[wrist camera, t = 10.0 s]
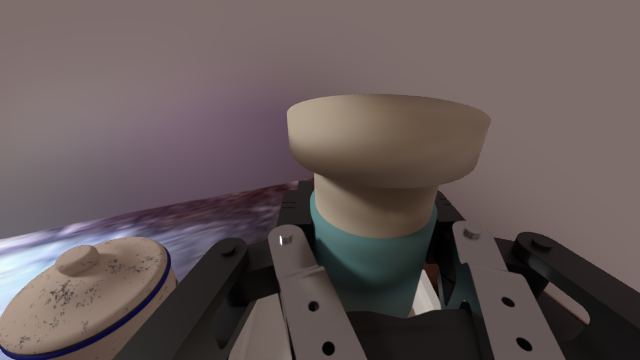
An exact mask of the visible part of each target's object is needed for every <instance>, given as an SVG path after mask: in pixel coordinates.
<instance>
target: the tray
mask: <svg viewBox="0 0 640 360" xmlns="http://www.w3.org/2000/svg"><path fill="white" fill-rule="evenodd" d="M412 307H413V309H414V312H415V315H419V314H422V313H425V312H428V311H431V310H441V305H440V301H439V299H438V297H437V295H436V293H435V291H434V289H433V287H432V285H431V283H430V281H429V279H428V277H427V275H426V273H425V270H422V273H421V277H420V280H419V284H418V287H417V291H416V295H415V298H414V302H413V305H412ZM228 360H292V359H291V355H290V350H289V345H288V340H287V335H286V330H285V325H284V321H283V316H282V312H281V307H280V303H279V298H278V294H277V293H276V294H273V295H270V296H267V297H264V298H261V299H258V300H257V302H256V304H255V306H254V308H253V309H252V311H251V313H250V315H249V317H248V319H247V321H246V323H245V325H244V327H243V329H242V331H241V333H240V335H239V337H238V339H237V340H236V342H235V344H234V346H233V348H232V350H231V352H230V356H229V359H228Z"/></svg>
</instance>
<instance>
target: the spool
mask: <svg viewBox="0 0 640 360" xmlns="http://www.w3.org/2000/svg"><path fill="white" fill-rule="evenodd" d="M287 120H288V132H289V142H290V143H289V144H290V152H291V155H292V157H293V158H294V160H296V161H297V162H298V163H299V164H300V165H301V166H303V167H304V168H306V169H308V170H310V171H312V172H314V180H315V189H314V191H313V192H312V195H311V198H310V209H311V216H312V237H313V255H314V258H315V260H316V262H317V264H318V266H321V265H322V266H323V267H324V268H325V270H326V272H327V274H328V276H329V278H330V281H331V283H332V285H333V287H334V289H335V291H336V293H337V296H338V298H339V300H340V302H341V304H342V306H343V308H344V311H345V312H350V311H372V312H376V313H381V314H385V315H390V316H394V317H398V318H409V317H412V316H415V312H414V309H413V307H412V305H413V302H414V298H415V295H416V291H417V287H418V284H419V280H420V277H421V273H422V269H423V266H424V262H425V259H426V255H427V251H428V248H429V244H430V241H431V237H432V234H433V230H434V226H435V223H436V219H437V208H436V205H435V203H434V202H435V198H436V194H437V190H438V187H439V185H441V184H445V183H450V182H452V181H455V180H458V179H460V178H462V177H464V176H466V175H468V174H469V173H470V172H471V171H473V169H474V168H475V166H476V164H477V161H478V158H479V155H480V152H481V149H482V146H483V143H484V140H485V137H486V134H487V131H488V128H489V125H490V120H491V119H490V117H489V116H488V115H487V114H485V113H484V112H482V111H481V110H479V109H476V108H474V107H470V106H468V105H464V104H460V103H456V102H451V101H446V100H441V99H435V98H427V97H419V96H407V95H391V94H354V95H339V96H329V97H323V98H317V99H312V100H307V101H304V102H301V103H298V104H296V105H294V106H292V107H291V108H289V110H288V111H287Z"/></svg>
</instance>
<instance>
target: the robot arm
mask: <svg viewBox="0 0 640 360" xmlns="http://www.w3.org/2000/svg"><path fill="white" fill-rule="evenodd" d="M312 192H313V180H299V184H298V190H289V191H288V192H287V193H286V194H285V195H284V196H283V201H282V205H281V209H280V214H279V218H278V222H277V227H276V228H275V229H273V230H272V231H271V232H270V234H269V236H268V239H266V240H264V241H261V242H258V243H255V244H251V245H247V244H246V242H245V241H244V240H242V239H240V238H227V239H224V240H221V241H219V242H217V243H216V244H214V245H213V246H212V247H211V248H210V249H209V250H208V252H207V253H206V254H205V255H204V256H203V257H202V258H201V259H200V261H199V262H198V263H197V264H196V265H195V266H194V267H193V268H192V270H191V271H190V272H189V273H188V274H187V275H186V276H185V278H184V279H183V280H182V281H181V282H180V283H179V284H178V285H177V287H176V288H175V289H174V290H173V291H172V292H171V293H170V294H169V296H168V297H167V298H166V299H165V300H164V301H163V302H162V304H161V305H160V306H159V307H158V308H157V309H156V310H155V311H154V313H153V314H152V315H151V316H150V317H149V318H148V319H147V320H146V322H145V323H144V324H143V325H142V326H141V327H140V328H139V330H138V331H137V332H136V333H135V334H134V335H133V336H132V337H131V339H130V340H129V341H128V342H127V343H126V344H125V345H124V346H123V348H122V349H121V350H120V351H119V352H118V353H117V354H116V355H115V357H114V358H113V359H112V360H227V358H228V356H229V354H230V352H231V350H232V348H233V346H234V344H235V342H236V340H237V339H238V337H239V335H240V333H241V331H242V329H243V327H244V325H245V323H246V321H247V319H248V317H249V315H250V313H251V311H252V309H253V308H254V306H255V304H256V302H257V300H258V299H261V298H264V297H267V296H270V295H273V294H276V293H277V294H278V298H279V303H280V307H281V312H282V316H283V321H284V325H285V330H286V335H287V340H288V345H289V350H290V355H291V359H292V360H640V293H639V292H637V291H636V290H634V289H632V288H631V287H629V286H627V285H626V284H624V283H623V282H621V281H619V280H618V279H616V278H615V277H613V276H611V275H610V274H608V273H606V272H605V271H603V270H602V269H600V268H598V267H596V266H595V265H593V264H592V263H590V262H588V261H587V260H585V259H584V258H582V257H580V256H579V255H577V254H575V253H574V252H572V251H571V250H569V249H567V248H566V247H564V246H563V245H561V244H559V243H558V242H556V241H554V240H553V239H551V238H549V237H546V236H544V235H541V234H537V233H533V232H522V233H519V234H518V236H517V238H516V240H515V241H510V240H505V239H500V238H494V237H493V235H492V234H491V232H489V230H488V229H486V228H485V227H483V226H481V225H479V224H477V223H474V222H470V221H466V220H465V219H464V218H463V217H462V216H461V215H460V213H459V212H458V211H457V210H456V209H455V208H454V207H453V206H452V205H451V203H450V202H449V201H448V200H447V198H446V197H445V196H444V195H443V194H442V193H441V192H440V191H438V190H437V194H436V198H435V202H434V203H435V205H436V208H437V219H436V223H435V226H434V230H433V234H432V237H431V241H430V244H429V248H428V251H427V255H426V259H425V261H426V263H427V264H438V266H439V269H438V272H437V280H438V288H439V297H440V305H441V310H431V311H428V312H425V313H422V314H419V315H415V316H412V317H409V318H398V317H394V316H390V315H385V314H381V313H376V312H372V311H350V312H345V311H344V308H343V306H342V304H341V302H340V300H339V298H338V296H337V293H336V291H335V289H334V287H333V285H332V283H331V281H330V278H329V276H328V274H327V272H326V270H325V268H324V267H323V266H322V265H321V266H318V264H317V262H316V260H315V258H314V255H313V237H312V216H311V209H310V198H311V195H312ZM549 282H551V283H553V284H554V285H555V286H557V287H558V288H559V289H560V290H562V291H563V292H564V293H566V294H567V295H568V296H570V297H571V298H572V299H574V300H575V301H576V302H578V303H579V304H580V305H582V306H583V307H584V308H585V310H586V311H587V312H588V314H589V316H590V323H589V324H588V325H587V326H586V327H585V326H584V325H583V324H581V323H580V322H579V321H578V320H577V319H575V318H574V317H573V316H572V315H570V314H569V313H568V312H567V311H566V310H564V309H563V308H562V307H561V306H559V305H558V304H557V303H556V302H554V301H553V300H552V299H551V298H550V297H548V296H547V295H546V294H545V293H543V290H544V289H545V287H546V286H547V285H548V283H549Z"/></svg>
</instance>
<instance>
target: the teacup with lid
mask: <svg viewBox="0 0 640 360" xmlns="http://www.w3.org/2000/svg"><path fill="white" fill-rule="evenodd" d="M178 284H179V282H178V280H177V278H176V276H175V273H174V271H173V269H172V267H171V258H170V254H169V252H168V250H167V249H166V248H165V247H164V246H162V245H161V244H160V243H158V242H156V241H154V240H152V239H148V238H143V237H126V238H119V239H114V240H110V241H106V242H102V243H99V244H96V245H93V246H90V245H81V246H77V247H74V248H72V249H70V250H68V251H66V252H64V253H63V254H62V255H60V256H59V258H58V259H57V260H56V263H55V264H54V265H53V266H51V267H50V268H48V269H47V270H45V271H44V272H42V273H41V274H40V275H38V276H37V277H36V278H34V279H33V280H32V281H31V282H29V283H28V284H27V285H26V286H25V287H24V288H23V289H22V290H21V291H20V292H19V293H18V294H17V295H16V296H15V297H14V298H13V299H12V301H11V302H10V303H9V304H8V306H7V307H6V309H5V311H4V312H3V314H2V316H1V318H0V349H1V350H2V352H3V353H4V354H5V355H6V356H8V357H10V358H12V359H15V360H112V359H113V358H114V357H115V355H116V354H117V353H118V352H119V351H120V350H121V349H122V348H123V346H124V345H125V344H126V343H127V342H128V341H129V340H130V339H131V337H132V336H133V335H134V334H135V333H136V332H137V331H138V330H139V328H140V327H141V326H142V325H143V324H144V323H145V322H146V320H147V319H148V318H149V317H150V316H151V315H152V314H153V313H154V311H155V310H156V309H157V308H158V307H159V306H160V305H161V304H162V302H163V301H164V300H165V299H166V298H167V297H168V296H169V294H170V293H171V292H172V291H173V290H174V289H175V288H176V287H177V285H178Z"/></svg>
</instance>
